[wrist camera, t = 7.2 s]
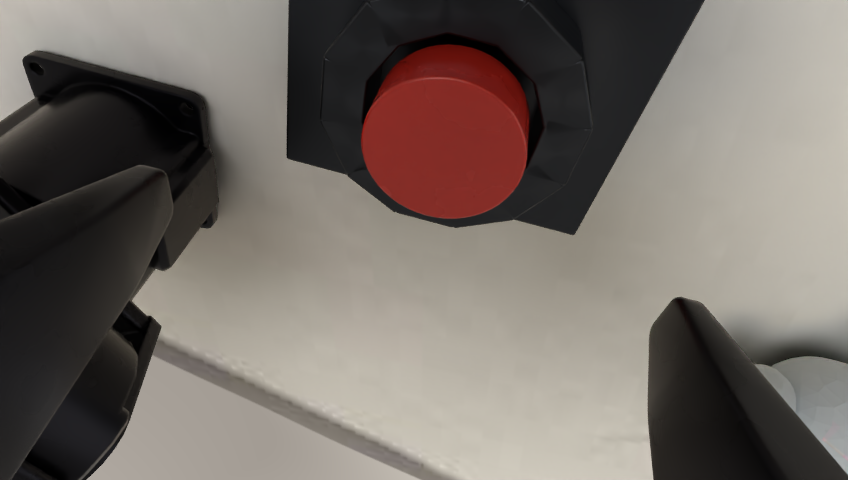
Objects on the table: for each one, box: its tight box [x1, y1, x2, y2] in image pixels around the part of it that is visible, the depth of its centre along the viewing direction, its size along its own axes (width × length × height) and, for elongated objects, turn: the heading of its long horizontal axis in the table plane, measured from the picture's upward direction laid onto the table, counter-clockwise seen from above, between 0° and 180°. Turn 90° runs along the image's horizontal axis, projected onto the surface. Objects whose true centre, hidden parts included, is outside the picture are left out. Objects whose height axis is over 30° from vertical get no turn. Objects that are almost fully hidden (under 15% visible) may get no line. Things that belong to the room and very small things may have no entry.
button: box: [361, 44, 529, 219], centre depth 13 cm, size 4×4×2 cm
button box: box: [287, 0, 705, 235], centre depth 15 cm, size 10×8×4 cm
